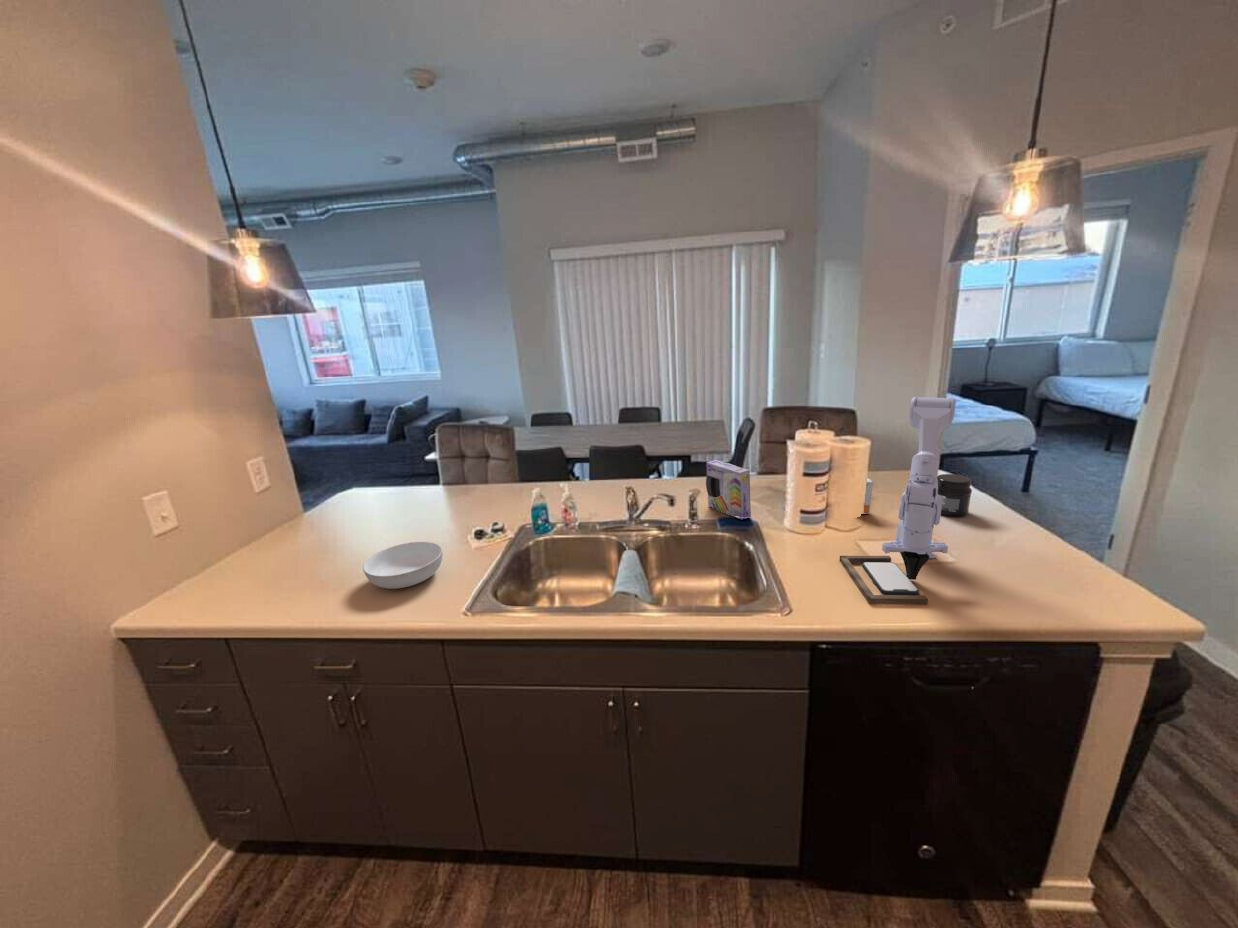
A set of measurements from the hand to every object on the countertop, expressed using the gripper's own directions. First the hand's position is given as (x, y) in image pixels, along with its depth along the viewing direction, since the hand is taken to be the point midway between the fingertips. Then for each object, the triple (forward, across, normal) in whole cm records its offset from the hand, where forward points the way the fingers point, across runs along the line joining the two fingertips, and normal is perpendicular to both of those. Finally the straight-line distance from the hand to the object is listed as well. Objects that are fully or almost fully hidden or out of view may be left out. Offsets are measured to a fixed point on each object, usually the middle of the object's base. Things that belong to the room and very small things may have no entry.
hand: (910, 577), depth 126 cm
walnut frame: (+1, -7, 0) cm, 7 cm away
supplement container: (+1, +32, +46) cm, 56 cm away
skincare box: (+1, +3, +46) cm, 46 cm away
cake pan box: (+1, -41, +48) cm, 63 cm away
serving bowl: (+1, -136, 0) cm, 136 cm away
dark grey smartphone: (+2, -5, +1) cm, 5 cm away
